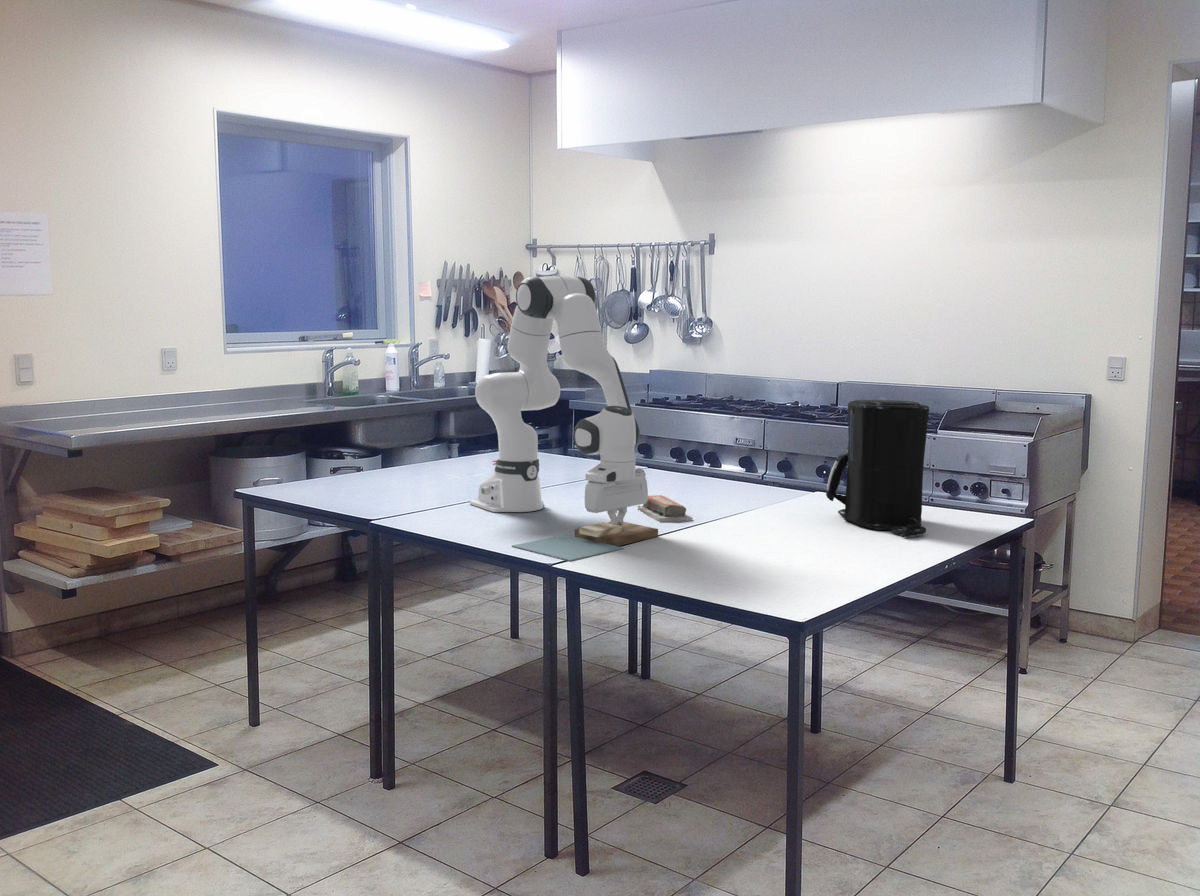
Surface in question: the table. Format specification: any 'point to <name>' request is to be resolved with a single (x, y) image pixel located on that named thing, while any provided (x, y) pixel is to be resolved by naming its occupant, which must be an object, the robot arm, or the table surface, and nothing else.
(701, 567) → the table surface
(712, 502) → the table surface
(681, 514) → the packaged product
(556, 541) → the rubber mat
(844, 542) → the table surface
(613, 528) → the birch block
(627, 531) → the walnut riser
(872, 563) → the table surface
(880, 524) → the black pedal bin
